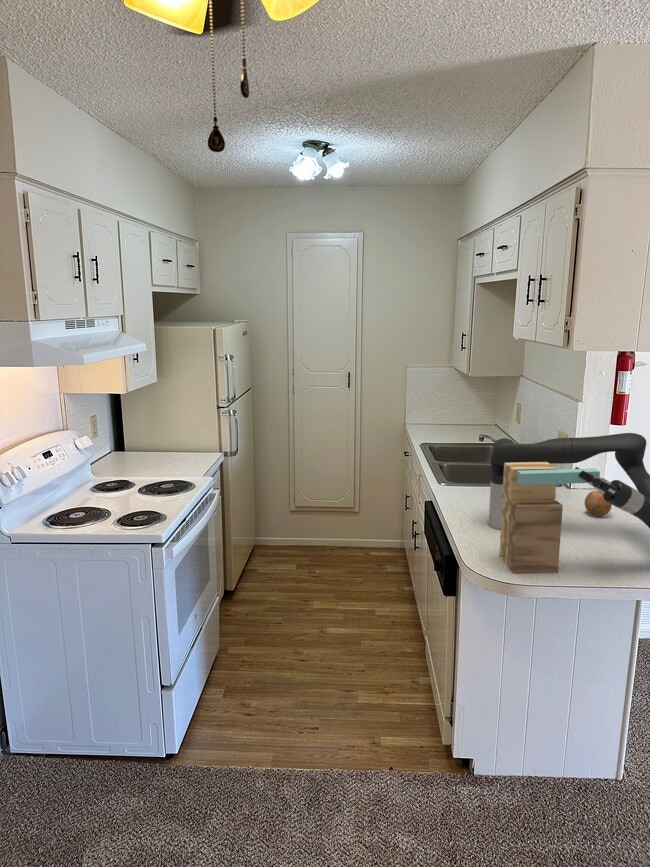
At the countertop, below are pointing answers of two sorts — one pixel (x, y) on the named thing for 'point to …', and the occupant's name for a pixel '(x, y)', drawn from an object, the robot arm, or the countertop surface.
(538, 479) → the rail
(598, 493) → the onion
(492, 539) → the countertop surface
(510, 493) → the stand
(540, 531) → the step
